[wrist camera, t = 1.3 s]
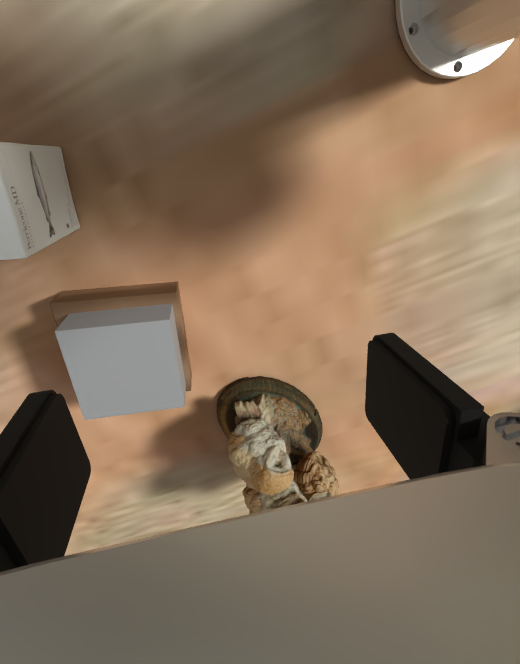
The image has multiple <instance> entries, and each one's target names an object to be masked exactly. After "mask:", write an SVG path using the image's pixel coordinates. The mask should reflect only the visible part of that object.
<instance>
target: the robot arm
mask: <svg viewBox="0 0 520 664" xmlns="http://www.w3.org/2000/svg"><path fill="white" fill-rule="evenodd" d="M395 3H396V20H397V25H398V30H399V35H400V38H401V40H402V43H403V46H404V48H405V50H406V52H407V53H408V55H409V56H410V58H411V60H412V61H413V62H414V63H415V64H416V65H417V66H418V67H419V68H420V69H421V70H423V71H424V72H426V73H428V74H429V75H431V76H434V77H438V78H441V79H456V78H461V77H465V76H468V75H471V74H474V73H477V72H479V71H480V70H482V69H484V68H486V67H487V66H489V65H490V64H491V63H493V62H494V61H495V60H496V59H497V58H499V57H500V56H501V55H502V54H503V53H504V51H505V50H506V49H507V48H508V47H509V46H510V45H511V43H512V42H513V40H514V39H515V38H517V37H520V0H395ZM409 29H410V31H411V33H409ZM453 67H454V70H453ZM483 410H484V406H482V405H481V404H480V403H479V402H478V401H476V400H475V399H474V398H473V397H471V396H470V395H469V394H468V393H467V392H465V391H464V390H463V389H462V388H460V387H459V386H458V385H457V384H456V383H454V382H453V381H452V380H451V379H449V378H448V377H447V376H446V375H445V374H443V373H442V372H441V371H440V370H438V369H437V368H436V367H435V366H434V365H432V364H431V363H430V362H429V361H427V360H426V359H425V358H424V357H423V356H421V355H420V354H419V353H418V352H416V351H415V350H414V349H413V348H412V347H410V346H409V345H408V344H407V343H405V342H404V341H403V340H402V339H401V338H399V337H398V336H397V335H396V334H394V333H387V334H381V335H375V336H374V338H373V340H372V341H369V343H368V356H367V378H366V400H365V412H366V416H367V418H368V420H369V422H370V423H371V425H372V426H373V427H374V429H375V430H376V432H377V433H378V435H379V436H380V437H381V439H382V440H383V442H384V443H385V444H386V446H387V447H388V449H389V450H390V452H391V453H392V454H393V456H394V457H395V459H396V460H397V462H398V463H399V464H400V466H401V467H402V469H403V470H404V472H405V473H406V474H407V476H408V477H409V479H410V480H405V481H400V482H395V483H391V484H386V485H382V486H377V487H372V488H368V489H363V490H358V491H354V492H349V493H344V494H340V495H335V496H331V497H326V498H321V499H317V500H312V501H307V502H303V503H298V504H294V505H289V506H285V507H280V508H276V509H271V510H267V511H262V512H258V513H253V514H248V515H244V516H239V517H235V518H230V519H226V520H222V521H217V522H213V523H208V524H204V525H199V526H195V527H190V528H186V529H181V530H177V531H172V532H168V533H164V534H159V535H155V536H151V537H146V538H142V539H137V540H133V541H129V542H124V543H120V544H115V545H111V546H107V547H102V548H98V549H93V550H89V551H85V552H80V553H76V554H72V555H68V556H64V555H65V552H66V549H67V545H68V542H69V539H70V536H71V533H72V530H73V527H74V524H75V521H76V517H77V514H78V511H79V508H80V505H81V502H82V499H83V496H84V493H85V489H86V486H87V483H88V480H89V477H90V473H91V466H90V462H89V459H88V456H87V454H86V452H85V449H84V447H83V444H82V442H81V439H80V437H79V434H78V432H77V429H76V427H75V424H74V422H73V419H72V417H71V414H70V412H69V409H68V407H67V404H66V402H65V399H64V397H63V395H62V394H56V392H55V391H53V390H48V391H42V392H36V393H31V394H29V395H28V396H27V397H26V399H25V400H24V402H23V403H22V404H21V406H20V407H19V409H18V410H17V412H16V413H15V414H14V416H13V417H12V419H11V420H10V422H9V423H8V424H7V426H6V427H5V429H4V430H3V431H2V433H1V434H0V664H520V414H519V413H512V412H506V413H498V414H495V415H493V416H491V417H490V416H489V415H487V414H486V413H485V412H484V411H483Z"/></svg>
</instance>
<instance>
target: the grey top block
mask: <svg viewBox="0 0 520 664" xmlns="http://www.w3.org/2000/svg"><path fill="white" fill-rule="evenodd" d="M55 334H56V337H57V340H58V343H59V346H60V349H61V352H62V355H63V358H64V361H65V364H66V367H67V370H68V373H69V376H70V379H71V382H72V385H73V387H74V390H75V393H76V396H77V399H78V402H79V405H80V408H81V411H82V414H83V417H84V420H88V419H96V418H103V417H111V416H119V415H126V414H134V413H142V412H149V411H157V410H165V409H172V408H180V407H185V392H186V383H185V377H184V371H183V365H182V359H181V353H180V347H179V341H178V335H177V329H176V323H175V317H174V311H173V305H172V304H164V305H154V306H143V307H133V308H123V309H113V310H102V311H92V312H82V313H71V314H68V316H67V317H66V318H65V319H64V321H63V322H62V323H61V324H60V325H59V327H58V328H57V329H56V330H55Z"/></svg>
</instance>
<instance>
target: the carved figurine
mask: <svg viewBox="0 0 520 664" xmlns="http://www.w3.org/2000/svg"><path fill="white" fill-rule="evenodd" d="M315 411H316V415H315V416H314V413H315ZM217 416H218V421H219V423H220V426H221V428H222V430H223V432H224V433H225V434H226V436H227V437H228V438H229V441H228V446H227V447H228V451H229V453H230V454H229V459H230V461H231V462H232V468H233V470H234V471H235V474H236V475H237V476H238V477H241V479H242V480H244V481H245V482H246V484H247V487H246V488H245V489H244V490H243V495H244V498H245V504H246V506H247V508H249V510H250V513H249V514H253V513H258V512H262V511H267V510H271V509H276V508H280V507H285V506H289V505H294V504H298V503H303V502H307V501H312V500H317V499H321V498H326V497H331V496H335V495H337V491H338V488H339V484H338V480H337V479H336V473H335V470H334V468H333V467H331V466H330V464H329V462H328V461H327V459H326V458H325V457H323V456H322V455H320V453H319V452H313V451H315V450H316V448H317V447H318V445H319V443H320V440H321V436H322V422H321V418H320V416H319V413H318V410H317V409H315V405H314V404H313V403H312V402H311V401H310V399H309V398H308V397H307V396H306V395H305V394H303V393H302V392H301V391H300V390H298V389H296V388H295V387H294V386H292V385H290V384H288V383H285V382H283V381H280V380H278V379H273V378H268V377H262V376H261V377H260V376H259V377H253V379H250V378H248V377H247V378H243V379H239V380H237V381H236V382H234V383H233V384H231V385H230V386H228V387H227V388H226V389H225V390H224V391H223V392H222V394H221V395H220V397H219V399H218V403H217Z"/></svg>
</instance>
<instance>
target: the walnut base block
mask: <svg viewBox="0 0 520 664" xmlns="http://www.w3.org/2000/svg"><path fill="white" fill-rule="evenodd" d="M164 304H172V305H173V311H174V317H175V323H176V329H177V335H178V341H179V347H180V353H181V359H182V365H183V371H184V377H185V383H186V391H191V378H192V373H191V367H190V360H189V353H188V346H187V339H186V333H185V326H184V319H183V312H182V305H181V299H180V292H179V285H178V282H168V283H156V284H144V285H132V286H120V287H108V288H96V289H84V290H72V291H62V292H61V293H60V294H59V295H58V296H57V297H56V298H55V299H54V300H53V301H52V302H51V303H50V306H51V309H52V312H53V315H54V318H55V321H56V324H57V327H59V325H60V324H61V323H62V322H63V321H64V319H65V318H66V317H67V316H68V314H71V313H82V312H92V311H102V310H113V309H123V308H133V307H143V306H154V305H164Z"/></svg>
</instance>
